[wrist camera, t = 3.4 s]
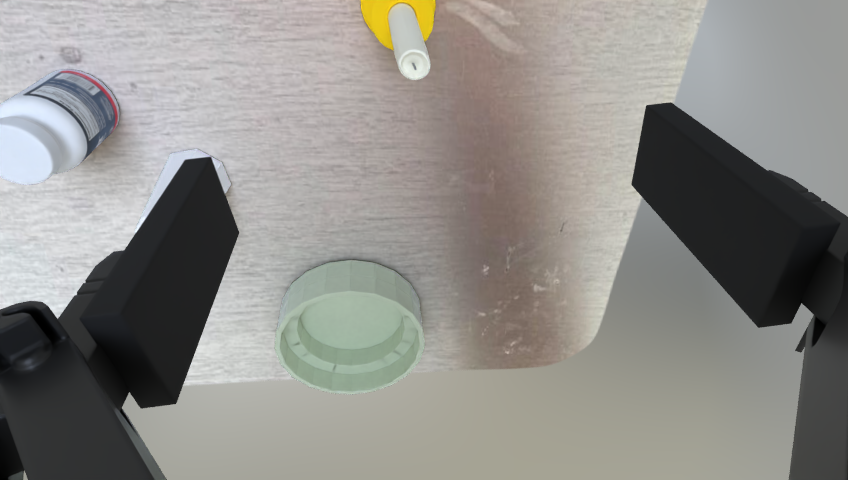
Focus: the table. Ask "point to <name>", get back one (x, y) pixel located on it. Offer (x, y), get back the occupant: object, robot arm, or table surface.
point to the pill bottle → (54, 125)
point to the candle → (403, 31)
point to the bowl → (349, 328)
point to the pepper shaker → (171, 169)
